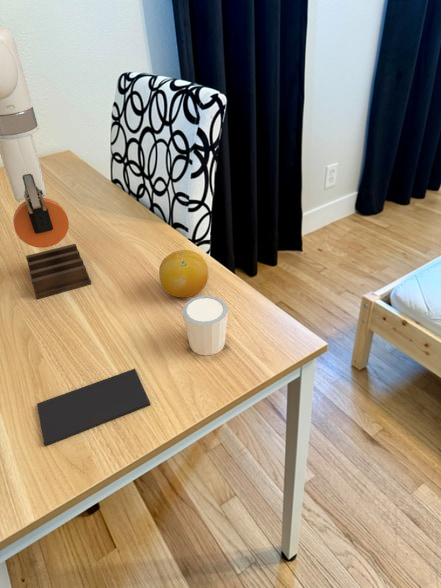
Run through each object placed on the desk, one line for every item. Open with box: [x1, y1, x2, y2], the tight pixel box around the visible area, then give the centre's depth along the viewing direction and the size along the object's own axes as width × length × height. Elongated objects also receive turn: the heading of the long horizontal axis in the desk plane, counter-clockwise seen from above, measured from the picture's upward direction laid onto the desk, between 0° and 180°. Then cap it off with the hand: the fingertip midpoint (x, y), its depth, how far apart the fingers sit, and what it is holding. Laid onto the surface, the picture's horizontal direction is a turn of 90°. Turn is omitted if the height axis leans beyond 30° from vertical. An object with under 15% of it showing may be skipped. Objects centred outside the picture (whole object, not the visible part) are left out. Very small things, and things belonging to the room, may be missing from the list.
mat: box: [36, 368, 151, 447], centre depth 59 cm, size 14×7×1 cm, turn 116°
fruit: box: [158, 249, 209, 298], centre depth 76 cm, size 9×8×8 cm
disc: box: [12, 197, 70, 249], centre depth 76 cm, size 9×2×9 cm, turn 116°
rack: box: [25, 243, 92, 300], centre depth 83 cm, size 10×11×4 cm
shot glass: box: [182, 295, 229, 356], centre depth 66 cm, size 7×7×7 cm
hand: (43, 227), depth 77 cm, fingers closed on disc, 1 cm apart
